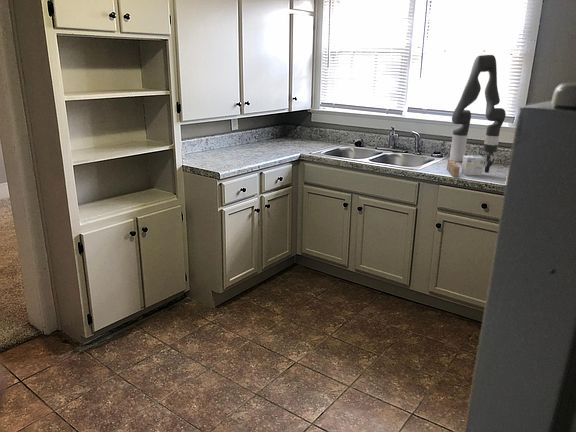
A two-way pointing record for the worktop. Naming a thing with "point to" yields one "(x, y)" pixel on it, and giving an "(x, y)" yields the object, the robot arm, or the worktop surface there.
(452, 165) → the orange brown stepped block
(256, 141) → the worktop surface
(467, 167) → the light bulb box
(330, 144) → the worktop surface
